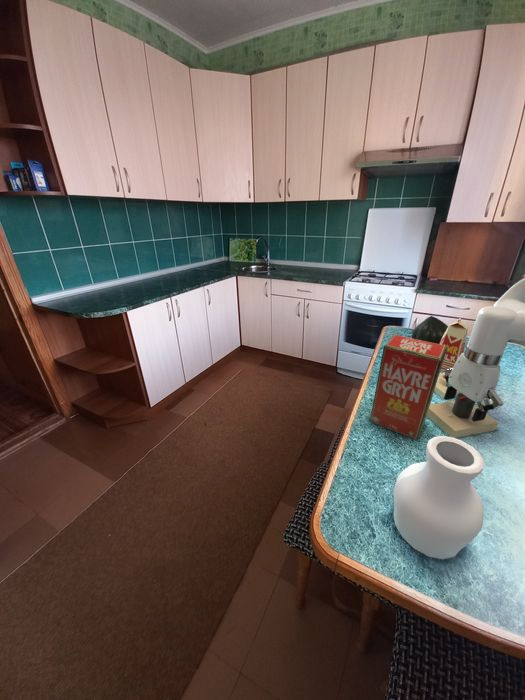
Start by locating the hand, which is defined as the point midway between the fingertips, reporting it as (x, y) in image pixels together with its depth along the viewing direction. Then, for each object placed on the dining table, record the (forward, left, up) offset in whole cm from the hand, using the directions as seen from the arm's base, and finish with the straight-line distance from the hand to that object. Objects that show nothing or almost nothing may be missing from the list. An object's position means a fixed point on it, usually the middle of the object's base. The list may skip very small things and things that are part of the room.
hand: (462, 408), depth 81 cm
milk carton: (-20, -27, -5) cm, 34 cm away
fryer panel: (0, 0, -5) cm, 5 cm away
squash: (-24, -41, -5) cm, 48 cm away
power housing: (-10, -15, -5) cm, 19 cm away
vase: (+30, +24, -5) cm, 39 cm away
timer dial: (0, 0, -2) cm, 2 cm away
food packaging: (+17, -4, -5) cm, 18 cm away
